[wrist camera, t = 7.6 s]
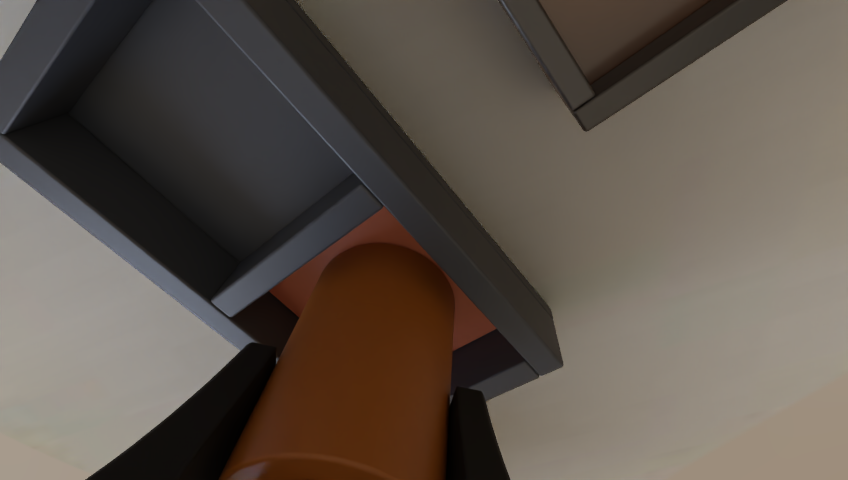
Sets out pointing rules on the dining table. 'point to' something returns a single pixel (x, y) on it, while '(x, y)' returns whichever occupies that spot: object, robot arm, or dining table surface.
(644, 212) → the dining table surface
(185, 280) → the divided grey tray
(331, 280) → the bottle
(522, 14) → the wooden footed tray
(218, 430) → the robot arm
